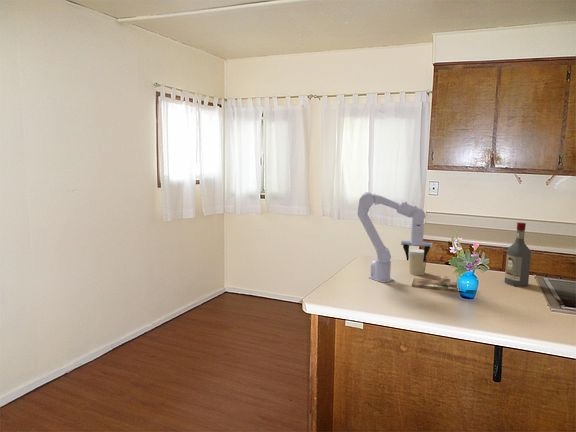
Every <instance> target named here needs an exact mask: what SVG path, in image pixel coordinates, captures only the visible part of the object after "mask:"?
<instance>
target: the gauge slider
mask: <svg viewBox="0 0 576 432" xmlns="http://www.w3.org/2000/svg"><path fill="white" fill-rule="evenodd" d="M440 281H441V285H445V286H446V285H447V286H450V282H451V276H448V275H447V276H446V275H441V278H440Z"/></svg>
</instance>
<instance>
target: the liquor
mask: <svg viewBox="0 0 576 432" xmlns="http://www.w3.org/2000/svg"><path fill="white" fill-rule="evenodd" d="M525 230H526V222H516V234H515V235H516V237H515V240H514V243H512V244H511V245H509V247H508V248H507V250H506V259H505V271H504V283H505V284H506V283H507V285H509V284H510V285H509V286H512V285H513V287H517V286H522V287H528V285H529V279H530V270H531V269H530V268H531V257H532V252H531V249H530V248H529V247H528V246H527V244H526V242H525V232H526V231H525Z"/></svg>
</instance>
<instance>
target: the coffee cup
mask: <svg viewBox="0 0 576 432" xmlns="http://www.w3.org/2000/svg"><path fill="white" fill-rule="evenodd" d="M427 256H428V254H427V255H426V258H425V262H423V258H424V249H422V248H421V249H419V248H411V249H409V260H408V271H409V273H408V274H410V275H414V276H423V275H425V272H426V266H427V258H428V257H427Z"/></svg>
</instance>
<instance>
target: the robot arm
mask: <svg viewBox="0 0 576 432" xmlns="http://www.w3.org/2000/svg"><path fill="white" fill-rule="evenodd" d="M373 205H383V206H385V207H389V208H392V209H394V210H396V212H397V214H399V215H401V216H405V217H408V218H412V220H411V227H410V230H411V231H410V240H401V242H400V246H402V248H403V250H404V253H405V256H406V261H409V250H410V246H411V247H412V246H413V247H423V250H424V258H423V262H425V258H426V255H427V256H428V253H429V251H430V249H431V248H433V242H426V241H424V233H425V232H424V229H425V224H424V223H425V219H426V217H427V216H426V213H425V211H424V210H423V209H422V208H420V207H418V206H417V205H414V206H413V205H412V204H409V203H408V202H407V201H400V202H396V201H394V200H392V199H390V198H387V197H385V196H383V195H380V194H376V193H371V192H368V191H366V192H364V193H362V194H361V196H360V198H359V200H358V206H357V207H358V208H357V217H358V218H359V220H360V222H361V224H362V226H363V228H364V230H365V231H366V234H367V236H368V238H369V239H370V241H371V243H372V246H373V247H374V250H375V251H376V256H377V257H376V259H375V260H373V261H372V262H371V264H370V276H369V277H368V278H369V279H372V280H374V281H377V282H380V283H385V282H386V283H387V282H391V281H394V280H395V279H394V278H391V267H392V261H391V259H392V258H391V257H392V255H391V252H390V250H389V248H388V247H386V246H385V245H384V242H383V241H382V239H381V237H380V235H379V232H378V231H377V228H376V227H375V225H374V223H373V222H372V218H370V216H369V214H368V213H369V211H370V209H371V207H372V206H373Z"/></svg>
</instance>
